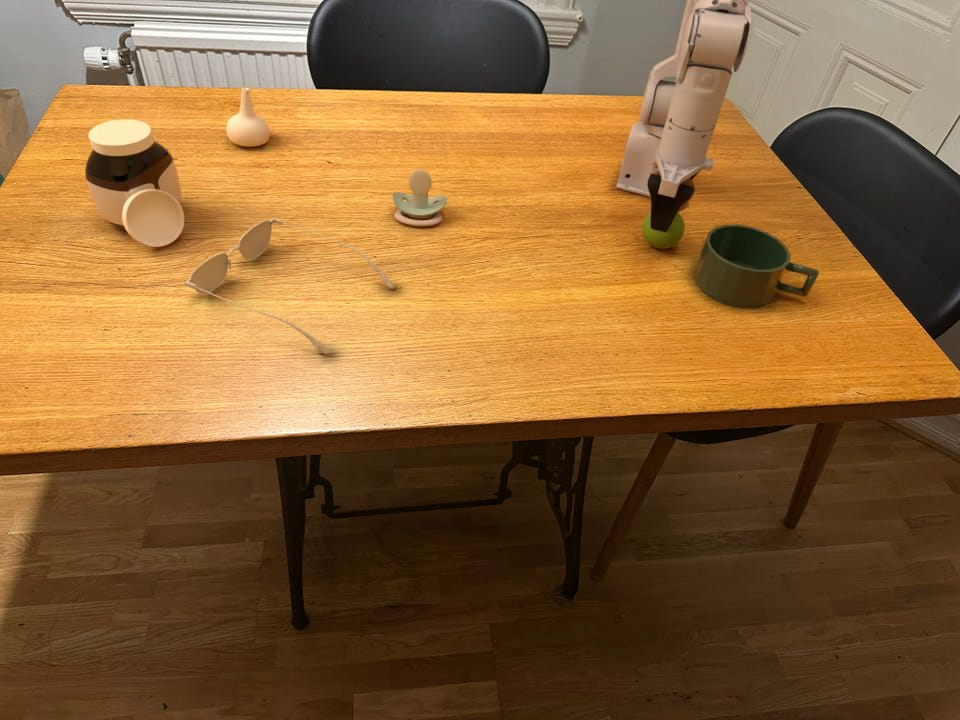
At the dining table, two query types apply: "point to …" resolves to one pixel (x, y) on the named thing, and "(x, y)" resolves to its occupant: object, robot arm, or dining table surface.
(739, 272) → the green mug
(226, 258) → the eyeglasses
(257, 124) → the garlic bulb
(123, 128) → the spread jar
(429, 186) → the pacifier
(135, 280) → the dining table surface
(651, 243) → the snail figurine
